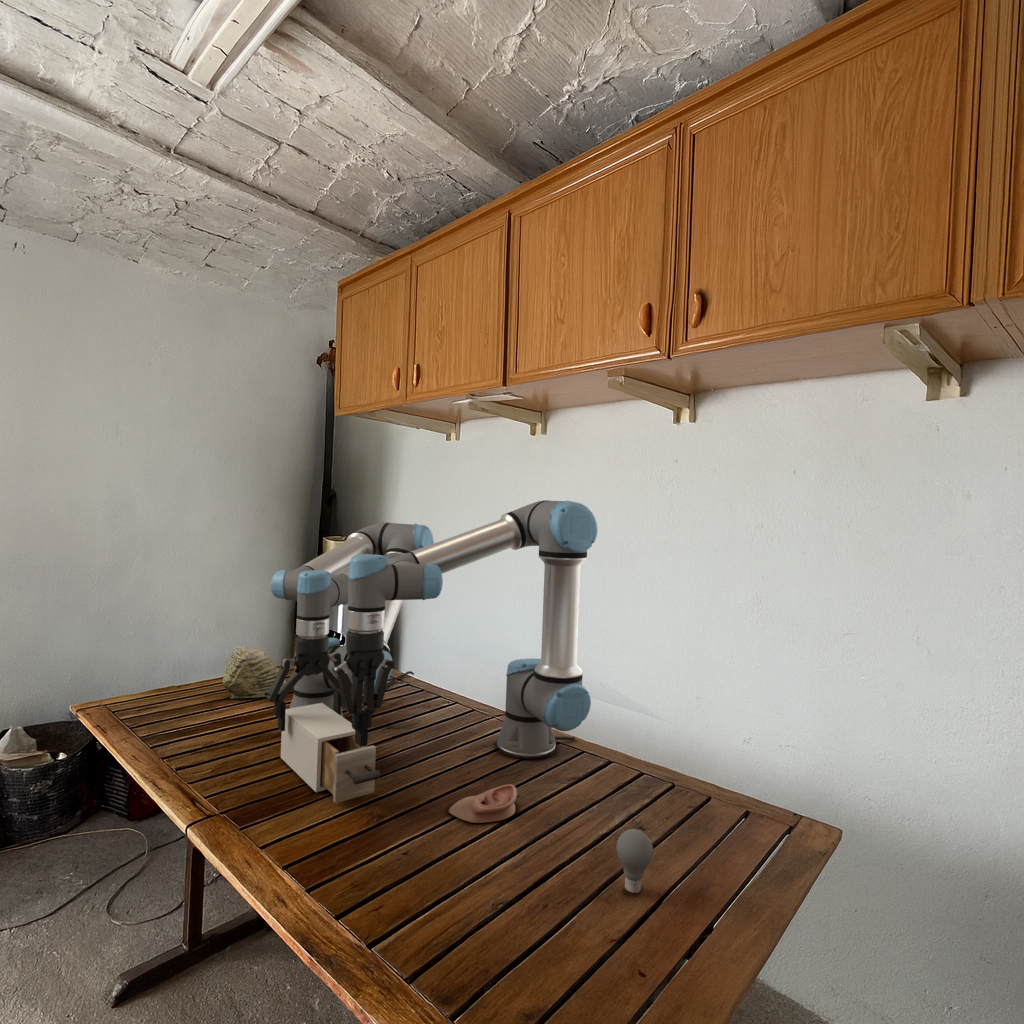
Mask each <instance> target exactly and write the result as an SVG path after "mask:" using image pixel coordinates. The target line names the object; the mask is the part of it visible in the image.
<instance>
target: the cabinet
mask: <svg viewBox="0 0 1024 1024" xmlns="http://www.w3.org/2000/svg"><path fill="white" fill-rule="evenodd" d="M280 734H281V735H280V737H281V738H280V740H281V741H280V759H281V760H283V761H284V763H285V764H286V765H287V766H289V767H290V769H292V770H293V771H294V773H296V774H297V776H298V777H300V778H301V780H303V781H304V782H305V783H306V784H307V785H308V786H309V787H310V788H311V789H312V790H313V792H315V793H320V792H324V791H326V790H327V789H326V788H325V787H324V786H323V785H322V784H321V783H320V775H321V749H322V742H323V741H328V740H333V739H337V738H342V737H346V736H351V735H354V736H355V730H354V729H353V728H352V721H350V720H348V719H347V718H345V717H344V716H343V717H342V716H340V715H339V714H338V713H336V712H335V711H333V710H332V709H330V708H329V707H327V706H326V705H325V704H323V703H318V704H313V705H307V706H301V707H296V708H290V709H289V708H286V713H285V731H281V733H280ZM327 791H328V790H327Z"/></svg>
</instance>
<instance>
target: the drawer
mask: <svg viewBox="0 0 1024 1024" xmlns="http://www.w3.org/2000/svg"><path fill="white" fill-rule="evenodd" d="M376 758H377V746H375V745H368V744H367V745H366V746H362V747H360V746H359V745H357V744H356V743H355V736H354V735H351V736H346V737H342V738H337V739H333V740H328V741H323V742H322V749H321V775H320V783H321V784H322V785H323V786H324V787H325V788H326V789H327V791H328V792H329V793H330V794H331V795H332V801H333V803H334V804H338V803H341V802H345V801H348V800H352V799H355V798H359V797H362V796H366V795H370V794H373V793H375V783H376V780H379V779H381V772H380V770H378V769H376V762H377V761H376Z"/></svg>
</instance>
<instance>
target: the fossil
mask: <svg viewBox="0 0 1024 1024" xmlns="http://www.w3.org/2000/svg"><path fill="white" fill-rule="evenodd" d="M279 670H280V668H278V667H277V665H276V663H275V662H274V660H273V659H272V658H271V657H270V656H269V655H268V654H267V653H266V652H265V650H264V649H263V648H260V647H258V648H251V647H247V646H246V647H245V646H238V647H237V648H236V649H235V650H233V651H232V653H231V656H230V657H229V659H228V660H227V663H226V666H225V668H224V671H223V675H222V676H223V677H222V685H223V687H224V688H225V690H226V691H228V693H229V698H230V699H250V698H264V697H265V698H266V696H267V694H268V692H269V690H270V688H271V686H272V684H273V682H274V680H275V678H276V676H277V674H278V672H279ZM286 681H287V680H286V679H285V680H284V682H283V684H282V686H281V688H282V687H283V685H284V684H285V683H286ZM281 688H280V689H281Z"/></svg>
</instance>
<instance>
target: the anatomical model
mask: <svg viewBox="0 0 1024 1024" xmlns="http://www.w3.org/2000/svg"><path fill="white" fill-rule="evenodd" d="M517 797H518V793H517V788H516V786H515V785H514V784H510V783H509V784H503V785H500V786H497V787H493V788H491V789H488V790H486V791H483V792H482V793H479V794H477V795H471V796H470V795H469V796H466V797H463V798H461V799H459V800H458V801H456V802H455V803H453V804H452V806H450V807H449V809H448V813H449V814H450V815H452V816H453V817H455V818H457V819H459V820H462V821H465V822H468V823H471V824H472V823H473V824H483V823H484V824H485V823H492V822H497V821H503V820H506V819H508V818H511V817H512V816H514V815H515V813H516V804H515V802H516V800H517Z"/></svg>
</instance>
